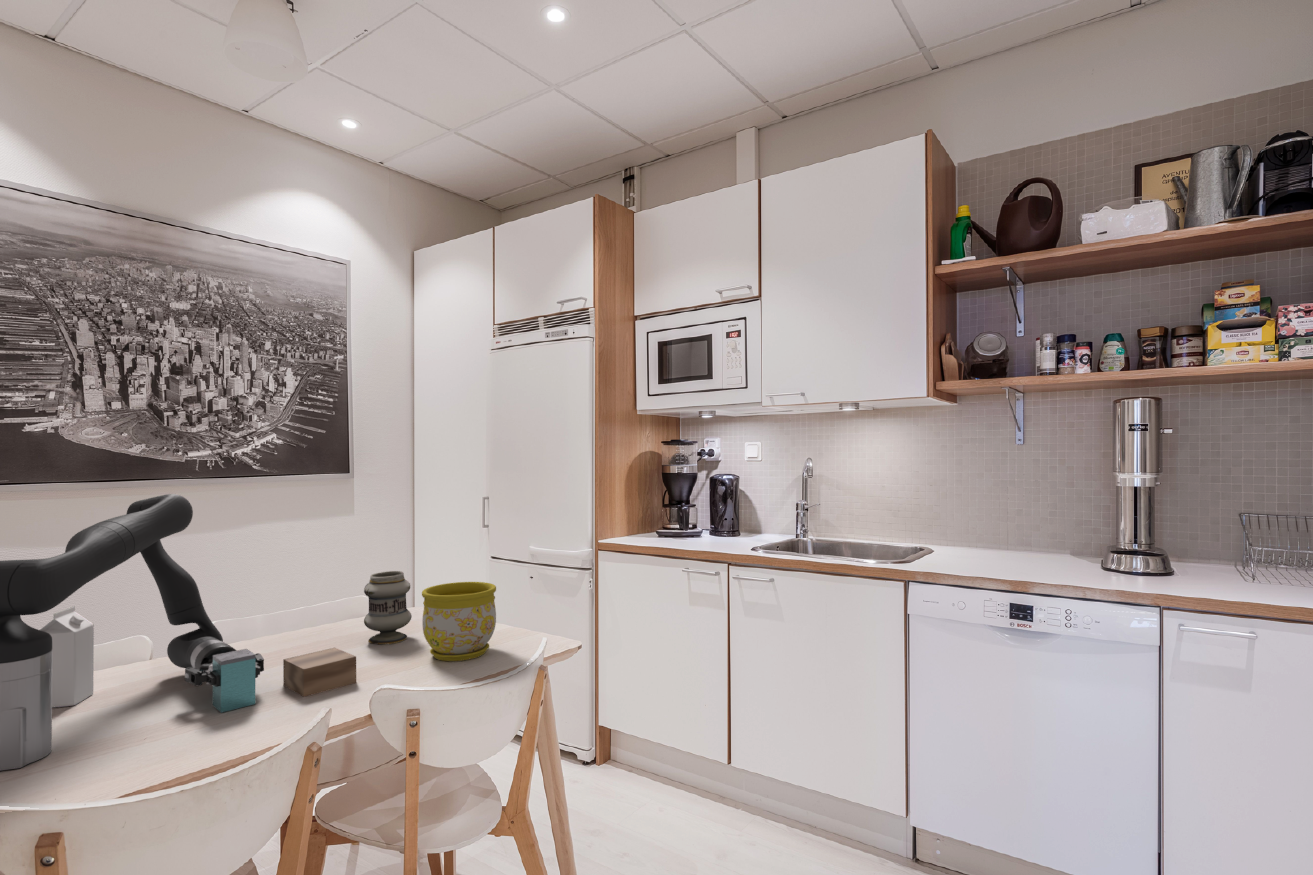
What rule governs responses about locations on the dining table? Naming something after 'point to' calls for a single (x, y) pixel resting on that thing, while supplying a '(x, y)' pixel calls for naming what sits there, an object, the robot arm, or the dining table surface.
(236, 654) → the tea tin
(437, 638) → the flowerpot
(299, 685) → the walnut block
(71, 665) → the milk carton
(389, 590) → the apothecary jar
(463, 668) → the dining table surface
